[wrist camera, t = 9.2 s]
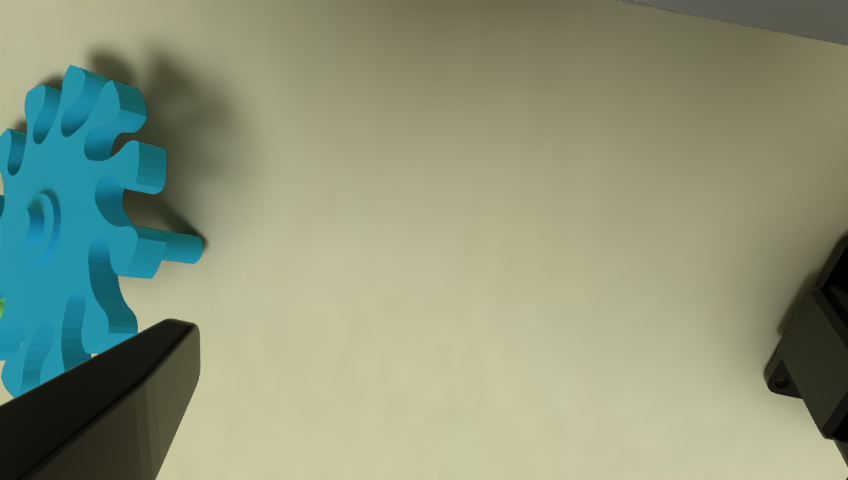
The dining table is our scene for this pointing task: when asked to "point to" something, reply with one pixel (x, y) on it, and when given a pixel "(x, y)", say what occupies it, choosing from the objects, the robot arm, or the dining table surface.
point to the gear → (75, 227)
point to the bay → (770, 15)
